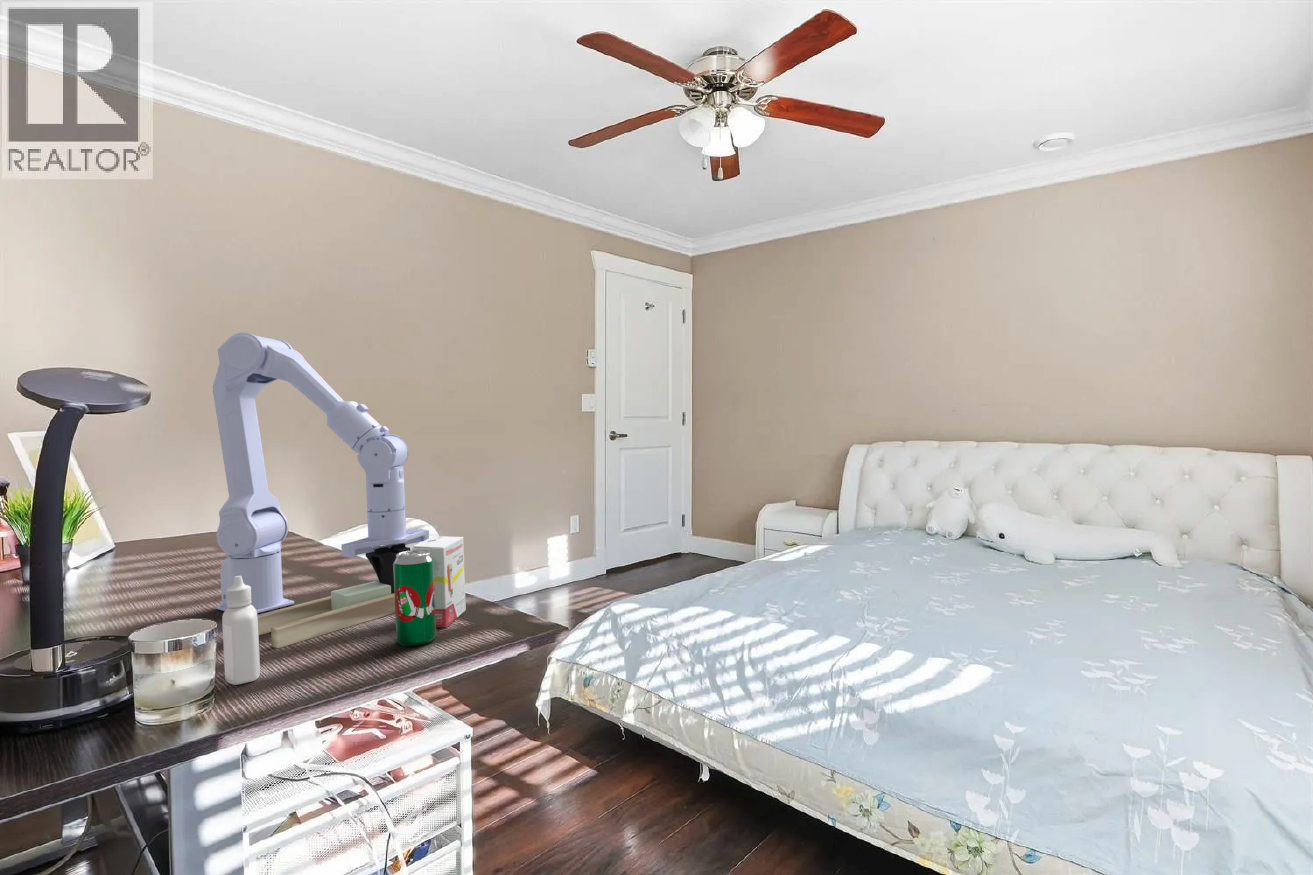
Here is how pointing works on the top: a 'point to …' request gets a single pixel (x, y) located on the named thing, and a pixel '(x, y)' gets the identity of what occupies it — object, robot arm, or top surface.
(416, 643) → the soda can
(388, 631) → the top surface
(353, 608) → the chute
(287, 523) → the robot arm
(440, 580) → the ink box
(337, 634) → the top surface
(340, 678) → the top surface
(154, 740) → the top surface
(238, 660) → the eye dropper bottle
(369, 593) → the sage block
